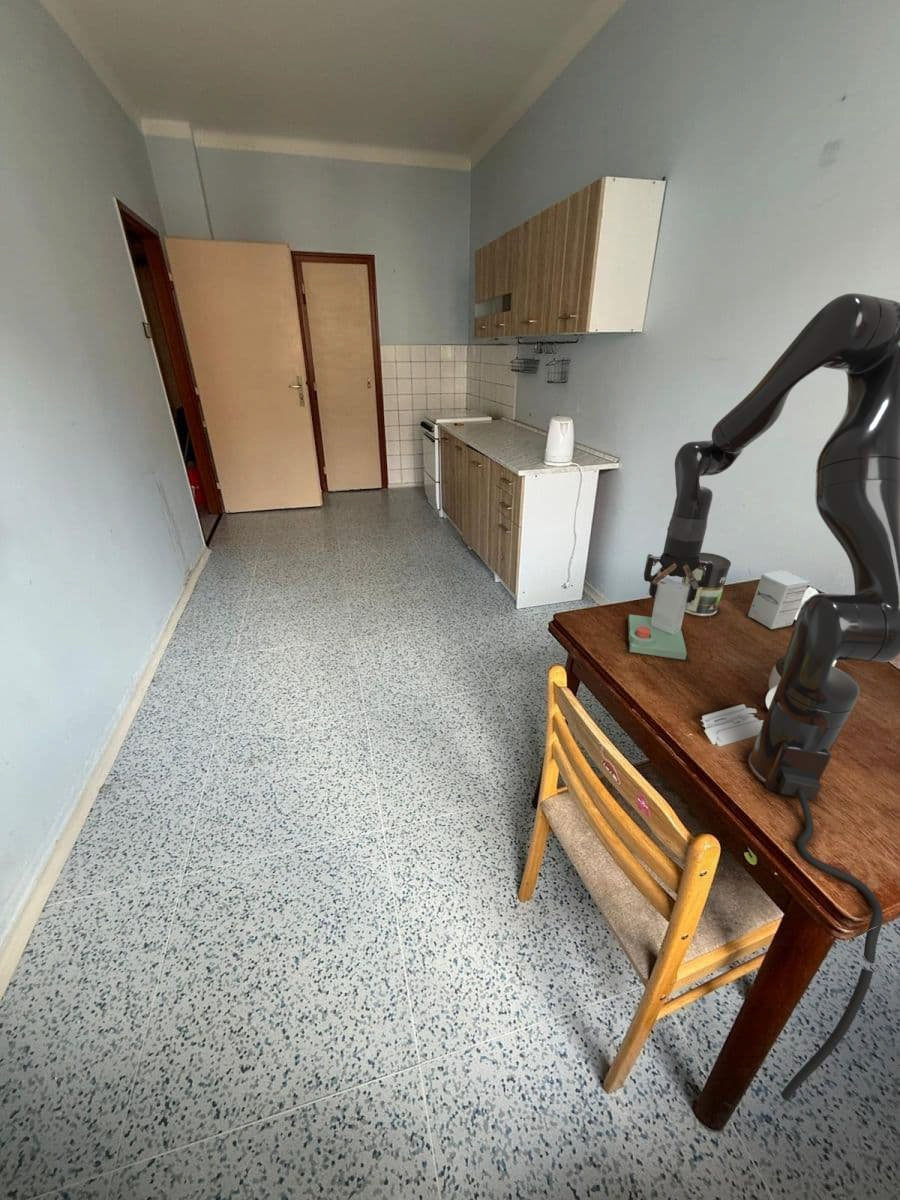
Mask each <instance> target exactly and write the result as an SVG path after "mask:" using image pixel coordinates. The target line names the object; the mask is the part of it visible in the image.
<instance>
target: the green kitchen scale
mask: <svg viewBox="0 0 900 1200" xmlns="http://www.w3.org/2000/svg"><path fill="white" fill-rule="evenodd" d="M651 619H652V616H644V615H636V614H628V619H627V626H628V627H627V630H628V646H629V647H628V648H629V653H636V654H642V655H649V656H656V657H662V658H663V657H664V658H669V659H677V660H684V661H685V660H686V659H687V655H688V651H687V648H686V644H685V640H684V636H683V631H682V628H681V629H680V630H679V631H678V632H676V633H675V634H673V635H672V634H670V633H667V632H665V631H662V630H660V629H658V628H655V627H653V626H651ZM639 626H645V627H648V628H649V629H650V630H651V632H650V637H649V638H647V639H644V638H639V637H637V636H636V631H637V628H638V627H639Z"/></svg>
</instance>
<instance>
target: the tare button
mask: <svg viewBox="0 0 900 1200" xmlns="http://www.w3.org/2000/svg"><path fill="white" fill-rule="evenodd" d="M650 632H651V630H650V629H649V628H648V627H645V626H639V627H638V628H637V631H636V636H637V637H639V638H644V639H647V638H649V637H650Z"/></svg>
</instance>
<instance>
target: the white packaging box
mask: <svg viewBox="0 0 900 1200" xmlns="http://www.w3.org/2000/svg"><path fill="white" fill-rule="evenodd" d="M809 584H810V581H809V580H807V579H805V578H802V577H800V576H798V575H796V574H794V573H791V572H789V571H787V570H784V569H779V570H772V571H768V572H763V573H761V575H760V579H759V582H758V585H757V588H756V591H755V593H754V596H753V600H752V602H751V605H750V608H749V611H748V614H747V617H749V618H751V619H753V620H755V621H756V622H758V623H759V624H762V625H763V626H765V627H767V628H768V629H770V630H775V629H779V628H780V629H781V628H784V627H789V626H792V625H793V623H794V621H795V620H796V619H795V618H796V617H797V615H798V612H799V610H800V606H801V604H802V601H803V598H804V596H805V593H806V591H807V588H808V587H809Z"/></svg>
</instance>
